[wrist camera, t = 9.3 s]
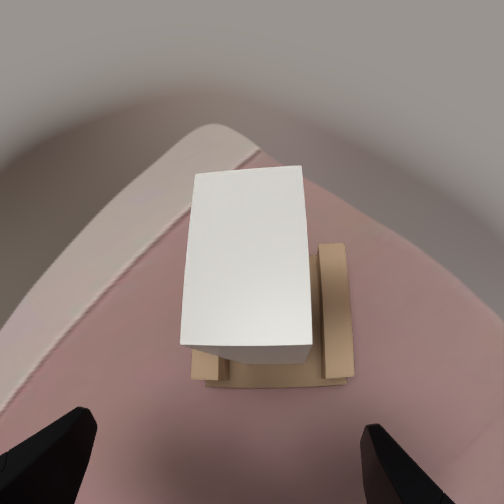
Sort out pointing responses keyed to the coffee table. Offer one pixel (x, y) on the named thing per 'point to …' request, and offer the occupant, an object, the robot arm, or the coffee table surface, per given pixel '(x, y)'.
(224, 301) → the white rectangular box
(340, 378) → the slot holder
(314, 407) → the coffee table surface
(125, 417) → the coffee table surface
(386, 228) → the coffee table surface
